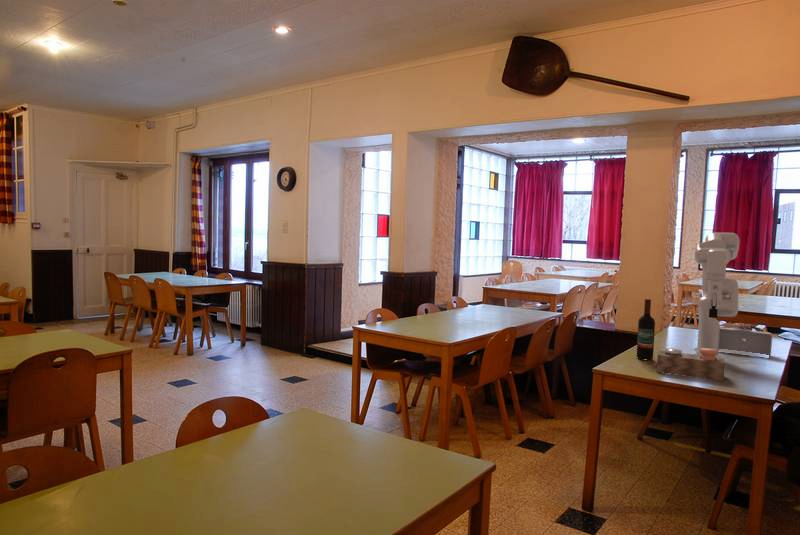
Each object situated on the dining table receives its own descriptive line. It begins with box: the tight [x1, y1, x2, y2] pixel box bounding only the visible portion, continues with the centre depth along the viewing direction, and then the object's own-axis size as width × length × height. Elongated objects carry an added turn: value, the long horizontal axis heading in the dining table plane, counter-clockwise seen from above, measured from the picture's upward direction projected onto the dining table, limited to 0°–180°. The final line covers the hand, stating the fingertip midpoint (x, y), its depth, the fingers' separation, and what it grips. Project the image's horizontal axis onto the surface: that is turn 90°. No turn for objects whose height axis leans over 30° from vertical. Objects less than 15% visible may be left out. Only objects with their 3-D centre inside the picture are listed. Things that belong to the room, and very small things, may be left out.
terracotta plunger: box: [700, 348, 719, 361], centre depth 237 cm, size 7×7×9 cm
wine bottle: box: [636, 298, 656, 361], centre depth 267 cm, size 8×8×30 cm
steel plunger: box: [664, 347, 683, 356], centre depth 244 cm, size 7×7×9 cm
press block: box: [656, 349, 726, 382], centre depth 241 cm, size 26×11×8 cm, turn 61°
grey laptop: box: [719, 326, 773, 359], centre depth 287 cm, size 25×16×12 cm, turn 53°
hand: (712, 317), depth 241 cm, fingers closed
